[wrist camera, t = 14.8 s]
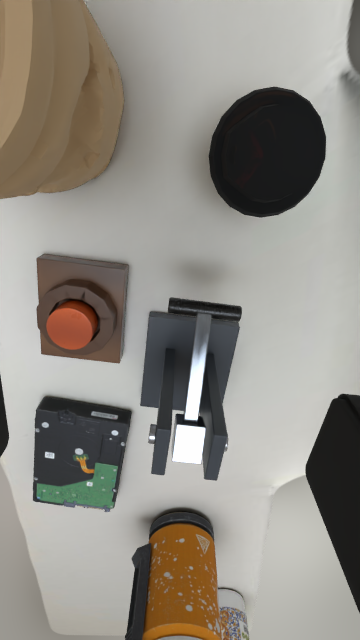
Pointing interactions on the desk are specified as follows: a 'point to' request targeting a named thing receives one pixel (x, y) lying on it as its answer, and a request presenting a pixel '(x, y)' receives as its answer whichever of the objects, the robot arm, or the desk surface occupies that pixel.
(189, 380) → the lever
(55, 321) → the button
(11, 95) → the container
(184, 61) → the desk surface
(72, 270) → the button block
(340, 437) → the robot arm
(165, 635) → the canister
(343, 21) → the desk surface
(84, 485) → the disk drive
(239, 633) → the bath foam
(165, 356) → the bracket
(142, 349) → the desk surface
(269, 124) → the coffee cup
